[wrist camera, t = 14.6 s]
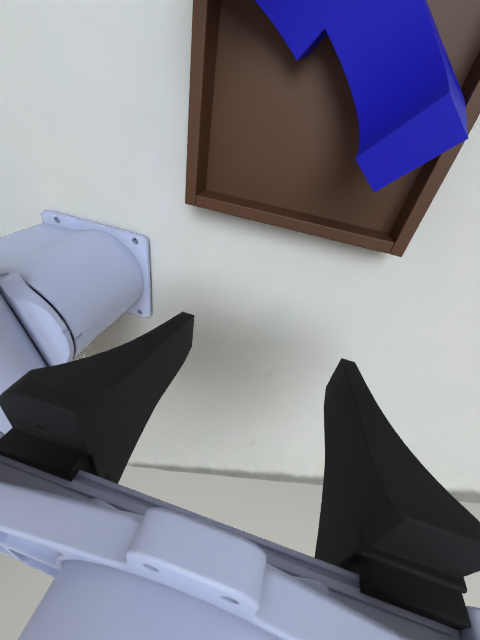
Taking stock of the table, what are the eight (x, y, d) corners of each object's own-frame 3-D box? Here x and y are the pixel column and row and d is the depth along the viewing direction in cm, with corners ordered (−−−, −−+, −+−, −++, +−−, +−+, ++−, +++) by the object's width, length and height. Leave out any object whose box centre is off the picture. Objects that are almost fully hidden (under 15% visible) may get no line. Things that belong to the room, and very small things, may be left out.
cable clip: (229, -86, 12) (132, -124, 8) (317, -278, 9) (219, -480, 5) (366, 165, 16) (340, 212, 12) (464, 99, 12) (468, 138, 9)
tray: (198, 196, 19) (184, 203, 18) (231, -301, 10) (208, -405, 8) (393, 243, 18) (401, 257, 16) (665, -287, 8) (768, -413, 6)
